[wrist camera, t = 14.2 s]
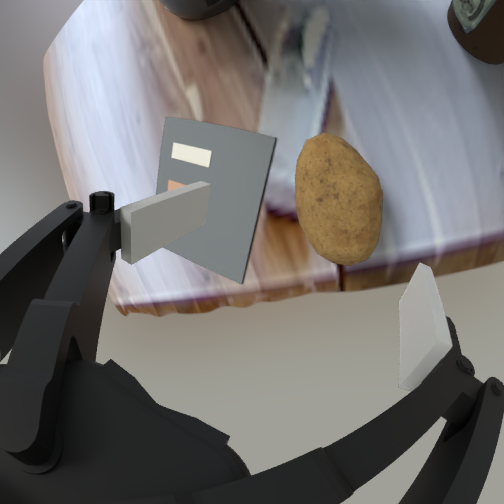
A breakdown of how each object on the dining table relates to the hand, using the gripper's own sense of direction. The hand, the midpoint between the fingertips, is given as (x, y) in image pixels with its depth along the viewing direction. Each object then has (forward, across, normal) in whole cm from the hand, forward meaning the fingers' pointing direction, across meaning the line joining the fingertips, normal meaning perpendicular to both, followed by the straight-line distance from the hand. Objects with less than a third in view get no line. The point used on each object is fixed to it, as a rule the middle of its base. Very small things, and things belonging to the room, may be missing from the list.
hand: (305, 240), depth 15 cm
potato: (+19, 0, -1) cm, 19 cm away
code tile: (+19, -19, -8) cm, 28 cm away
